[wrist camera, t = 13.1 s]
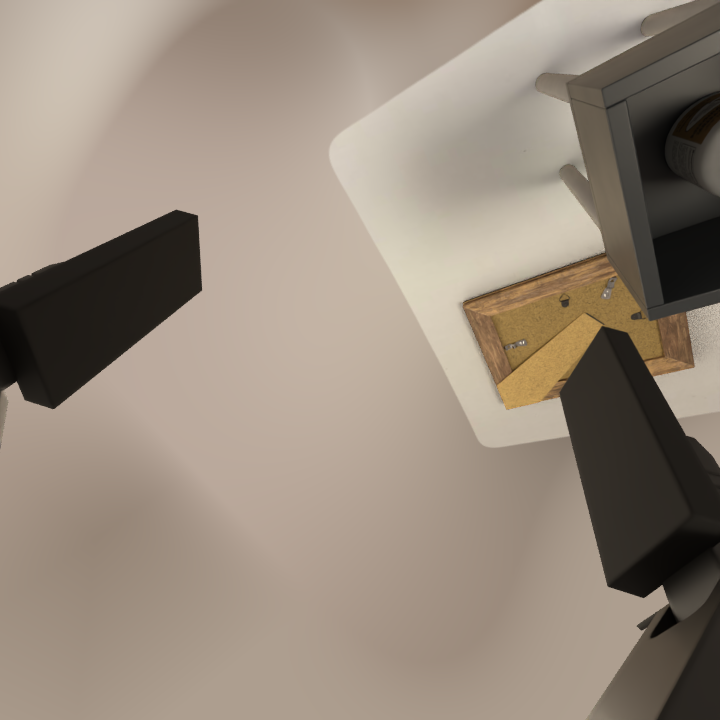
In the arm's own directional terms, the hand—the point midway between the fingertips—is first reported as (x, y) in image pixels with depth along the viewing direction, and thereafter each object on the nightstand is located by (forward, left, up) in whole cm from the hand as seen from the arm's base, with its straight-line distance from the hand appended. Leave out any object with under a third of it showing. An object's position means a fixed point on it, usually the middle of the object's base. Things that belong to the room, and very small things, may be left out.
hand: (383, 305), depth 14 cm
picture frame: (+18, +23, -41) cm, 50 cm away
